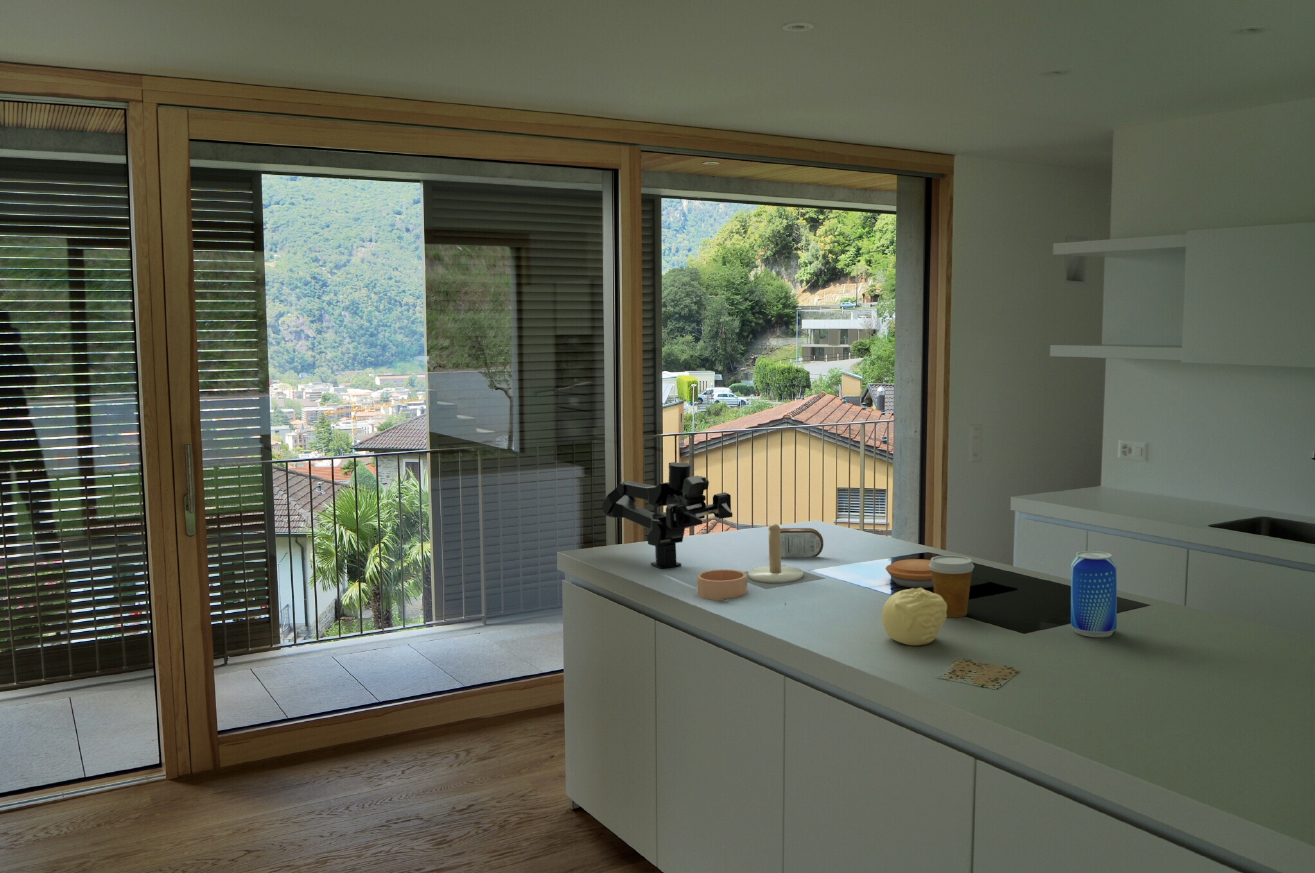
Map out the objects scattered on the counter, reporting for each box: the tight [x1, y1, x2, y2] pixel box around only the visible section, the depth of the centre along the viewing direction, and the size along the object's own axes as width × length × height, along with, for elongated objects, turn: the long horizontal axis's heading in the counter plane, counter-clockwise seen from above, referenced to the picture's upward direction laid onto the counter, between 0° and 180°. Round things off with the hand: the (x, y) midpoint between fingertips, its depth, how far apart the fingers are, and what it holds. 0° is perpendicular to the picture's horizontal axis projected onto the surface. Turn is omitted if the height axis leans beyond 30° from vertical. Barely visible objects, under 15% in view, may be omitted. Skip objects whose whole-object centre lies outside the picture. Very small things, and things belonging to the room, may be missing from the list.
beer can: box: [1070, 550, 1118, 638], centre depth 198 cm, size 8×8×16 cm
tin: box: [780, 527, 824, 558], centre depth 275 cm, size 15×3×8 cm, turn 84°
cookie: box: [939, 658, 1021, 688], centre depth 177 cm, size 12×12×1 cm
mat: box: [743, 564, 826, 590], centre depth 253 cm, size 18×18×1 cm
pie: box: [885, 558, 933, 589], centre depth 244 cm, size 15×16×5 cm
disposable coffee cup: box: [929, 554, 975, 618], centre depth 215 cm, size 10×10×12 cm
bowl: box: [696, 569, 749, 601], centre depth 240 cm, size 12×12×4 cm
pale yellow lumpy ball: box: [881, 588, 948, 646], centre depth 197 cm, size 11×12×11 cm
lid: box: [748, 523, 804, 583], centre depth 252 cm, size 14×14×14 cm
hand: (716, 518), depth 249 cm, fingers open, 9 cm apart
